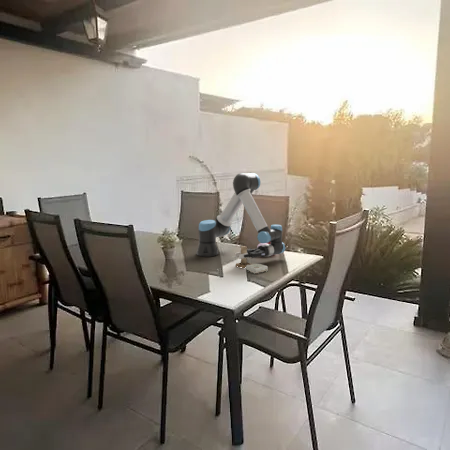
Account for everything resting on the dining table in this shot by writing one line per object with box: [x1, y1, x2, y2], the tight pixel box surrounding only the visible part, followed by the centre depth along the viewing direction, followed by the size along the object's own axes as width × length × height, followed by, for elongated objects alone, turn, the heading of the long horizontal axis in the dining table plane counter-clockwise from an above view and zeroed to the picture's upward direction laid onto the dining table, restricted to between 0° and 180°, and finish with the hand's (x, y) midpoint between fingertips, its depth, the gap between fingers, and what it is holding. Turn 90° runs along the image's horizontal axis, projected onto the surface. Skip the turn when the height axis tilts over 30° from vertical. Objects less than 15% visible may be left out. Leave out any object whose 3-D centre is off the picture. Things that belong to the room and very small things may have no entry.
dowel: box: [240, 245, 248, 265], centre depth 239 cm, size 4×4×12 cm
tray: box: [245, 262, 269, 272], centre depth 231 cm, size 9×9×3 cm
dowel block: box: [235, 262, 252, 269], centre depth 240 cm, size 7×7×2 cm
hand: (237, 256), depth 235 cm, fingers closed on dowel, 3 cm apart
